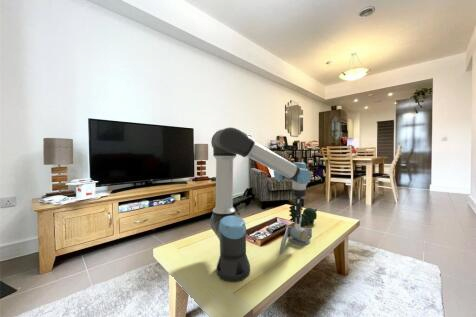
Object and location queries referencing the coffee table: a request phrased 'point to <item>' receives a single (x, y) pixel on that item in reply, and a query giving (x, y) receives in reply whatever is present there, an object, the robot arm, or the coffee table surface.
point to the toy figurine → (304, 215)
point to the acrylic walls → (289, 233)
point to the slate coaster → (298, 241)
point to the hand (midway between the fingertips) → (298, 224)
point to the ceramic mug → (299, 234)
